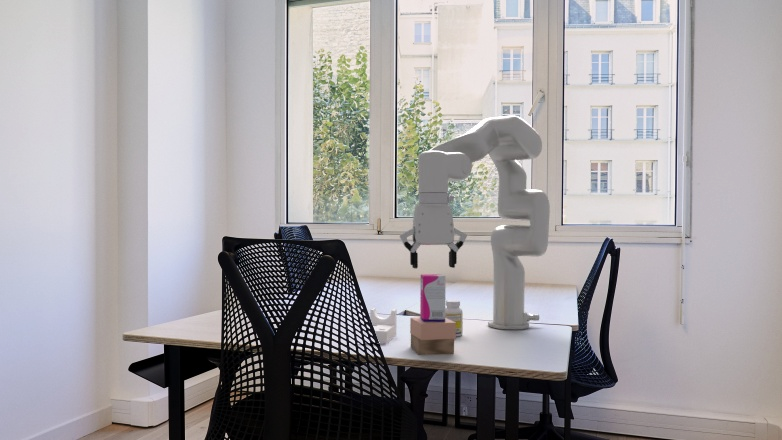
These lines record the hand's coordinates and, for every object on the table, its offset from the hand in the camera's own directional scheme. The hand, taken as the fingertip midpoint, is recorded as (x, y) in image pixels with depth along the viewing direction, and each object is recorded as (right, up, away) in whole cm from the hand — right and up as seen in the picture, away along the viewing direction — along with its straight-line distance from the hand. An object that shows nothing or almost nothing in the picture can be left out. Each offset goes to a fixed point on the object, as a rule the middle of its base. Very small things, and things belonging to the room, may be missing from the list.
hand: (433, 267), depth 154 cm
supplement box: (0, -13, -1) cm, 13 cm away
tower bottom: (-1, -21, -1) cm, 21 cm away
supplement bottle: (+7, -21, +20) cm, 30 cm away
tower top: (0, -17, -1) cm, 17 cm away
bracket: (-14, -21, +14) cm, 29 cm away
